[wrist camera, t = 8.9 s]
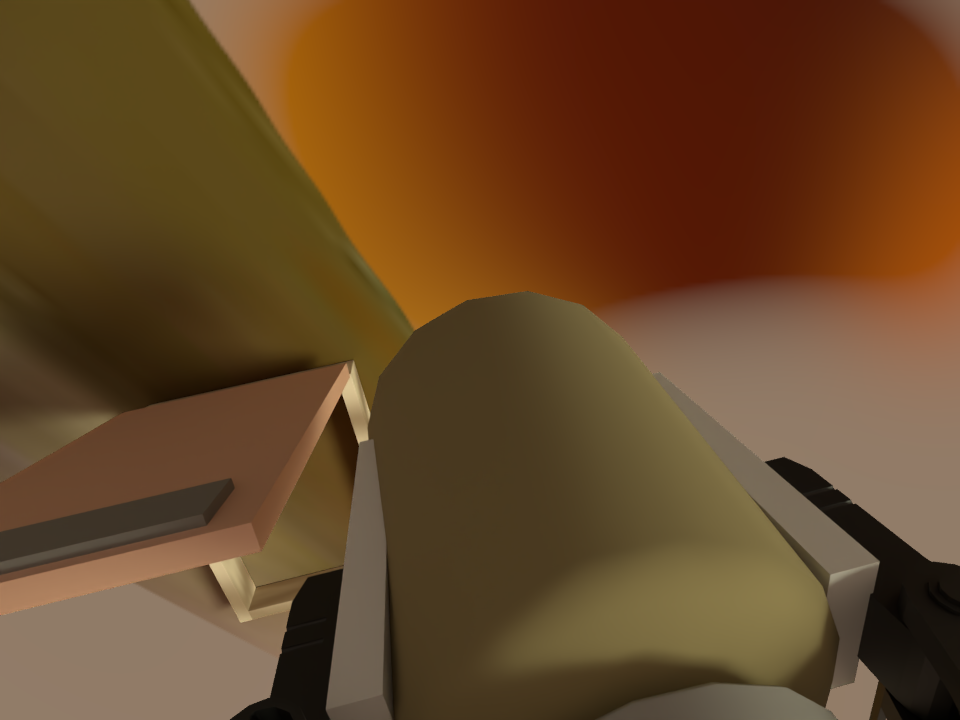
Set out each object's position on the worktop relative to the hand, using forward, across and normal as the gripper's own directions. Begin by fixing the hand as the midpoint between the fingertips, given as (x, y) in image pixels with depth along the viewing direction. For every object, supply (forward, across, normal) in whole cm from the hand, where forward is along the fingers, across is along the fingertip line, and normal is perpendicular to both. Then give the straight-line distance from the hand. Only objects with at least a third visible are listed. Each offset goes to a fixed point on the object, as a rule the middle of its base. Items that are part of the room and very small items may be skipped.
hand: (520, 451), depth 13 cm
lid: (+11, -15, -4) cm, 20 cm away
